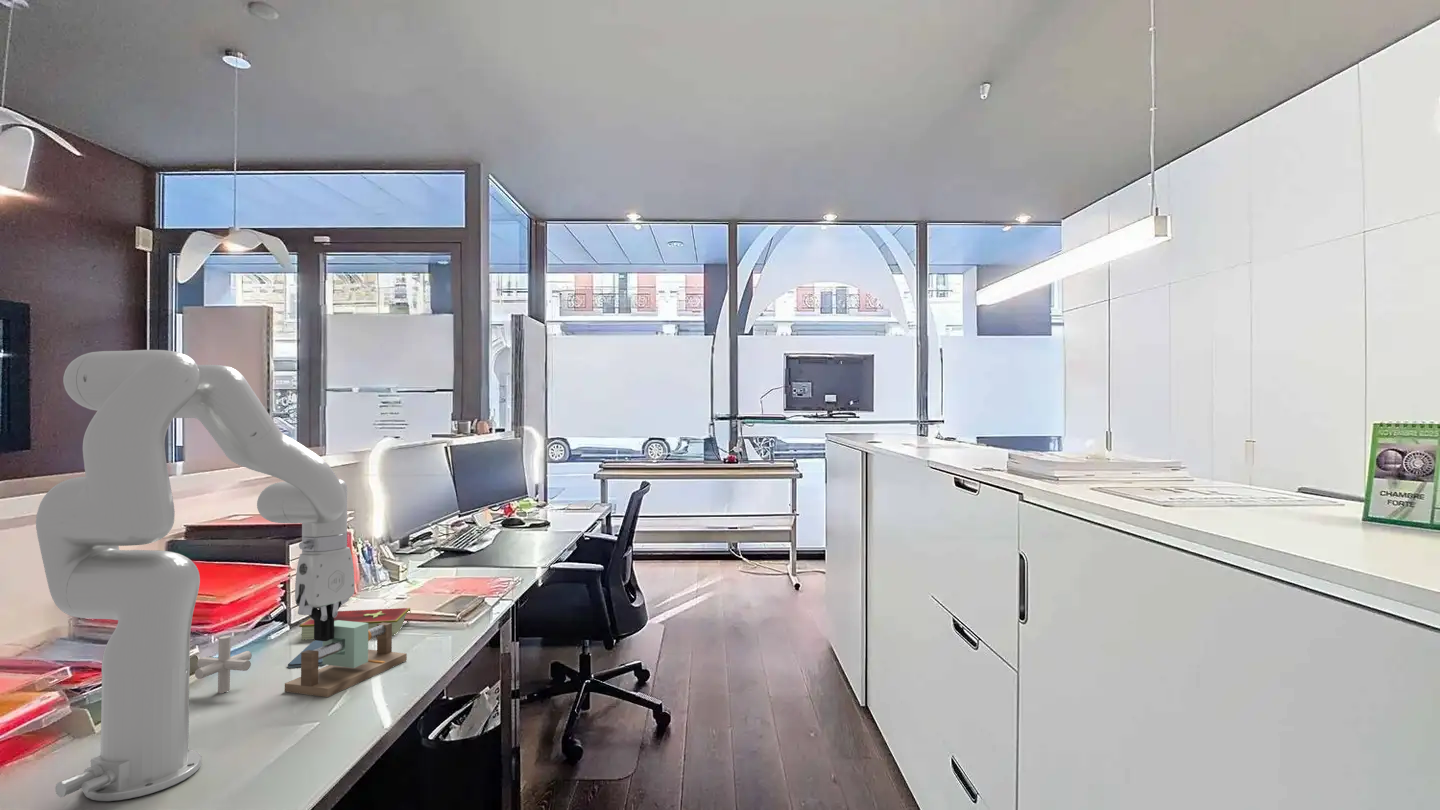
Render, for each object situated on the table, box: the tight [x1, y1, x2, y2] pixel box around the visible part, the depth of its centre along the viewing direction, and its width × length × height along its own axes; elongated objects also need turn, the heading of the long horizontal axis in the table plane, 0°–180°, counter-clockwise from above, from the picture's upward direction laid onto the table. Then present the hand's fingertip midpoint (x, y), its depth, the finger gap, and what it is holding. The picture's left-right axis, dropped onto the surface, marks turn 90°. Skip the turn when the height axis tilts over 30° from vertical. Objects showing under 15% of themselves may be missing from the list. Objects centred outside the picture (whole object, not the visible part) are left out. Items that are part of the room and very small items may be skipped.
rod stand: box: [284, 622, 408, 698], centre depth 136 cm, size 20×10×8 cm, turn 164°
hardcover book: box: [298, 607, 411, 641], centre depth 166 cm, size 12×21×4 cm, turn 100°
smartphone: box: [287, 640, 325, 669], centre depth 148 cm, size 8×2×15 cm
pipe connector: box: [194, 635, 252, 694], centre depth 128 cm, size 10×10×10 cm
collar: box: [322, 620, 369, 668], centre depth 135 cm, size 4×8×8 cm, turn 74°
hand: (324, 639), depth 132 cm, fingers closed
